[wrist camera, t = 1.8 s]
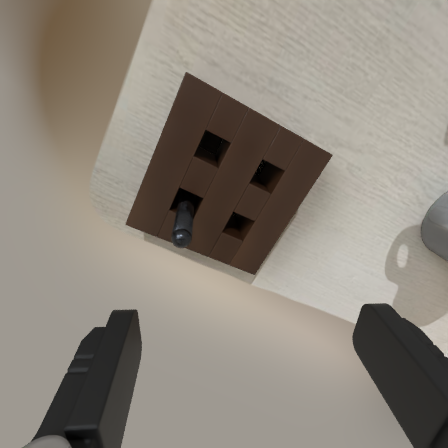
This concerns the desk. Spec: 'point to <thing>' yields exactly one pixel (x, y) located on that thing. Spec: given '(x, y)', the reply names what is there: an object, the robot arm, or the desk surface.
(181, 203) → the stylus
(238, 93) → the desk surface
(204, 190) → the pen holder
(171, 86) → the desk surface
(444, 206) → the coffee mug
